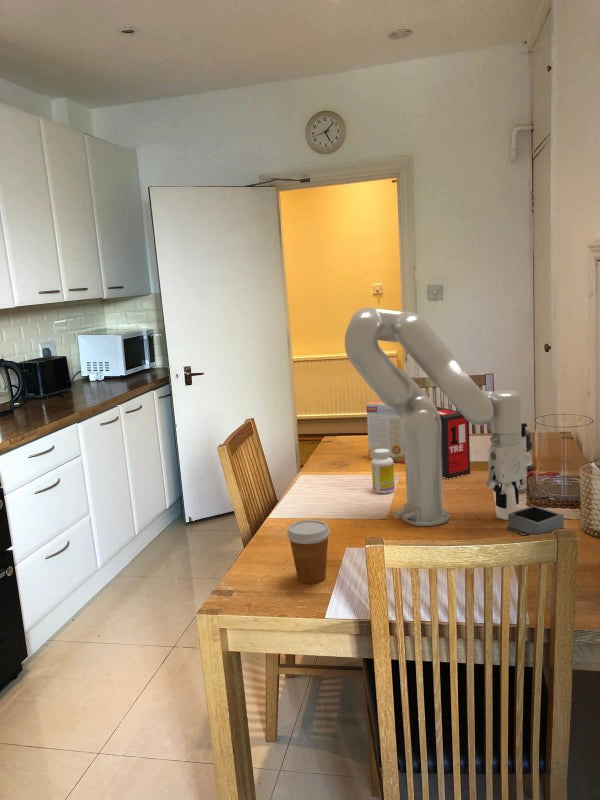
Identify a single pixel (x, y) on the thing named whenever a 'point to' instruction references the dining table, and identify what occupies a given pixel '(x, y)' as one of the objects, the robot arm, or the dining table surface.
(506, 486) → the pepper shaker
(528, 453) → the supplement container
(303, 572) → the disposable coffee cup
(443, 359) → the robot arm
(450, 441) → the cleaning product box
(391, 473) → the supplement bottle
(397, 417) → the cracker box
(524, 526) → the grey square tray
